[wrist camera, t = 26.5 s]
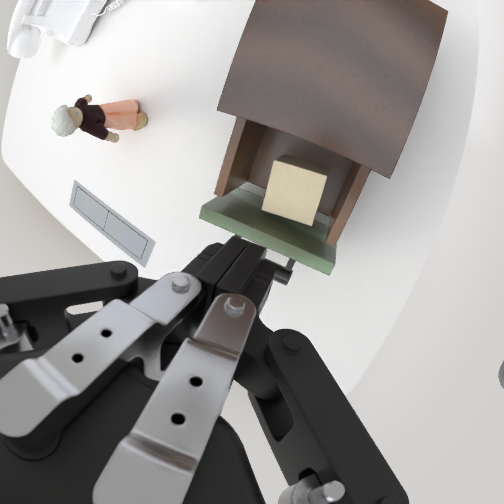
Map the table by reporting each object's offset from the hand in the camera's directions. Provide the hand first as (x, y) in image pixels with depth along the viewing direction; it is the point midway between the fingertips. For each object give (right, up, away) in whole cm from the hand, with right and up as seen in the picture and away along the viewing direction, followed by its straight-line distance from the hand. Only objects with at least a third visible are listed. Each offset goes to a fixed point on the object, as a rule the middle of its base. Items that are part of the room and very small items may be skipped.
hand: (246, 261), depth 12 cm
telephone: (-25, +40, +11) cm, 49 cm away
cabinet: (+9, +18, +11) cm, 23 cm away
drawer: (+5, +8, +16) cm, 18 cm away
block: (+5, +7, +15) cm, 17 cm away
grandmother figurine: (-15, +18, +19) cm, 30 cm away
